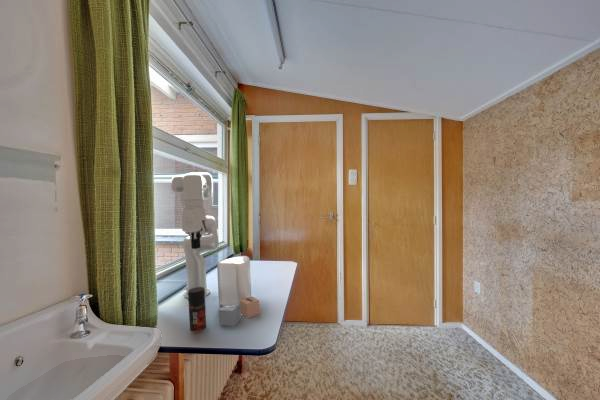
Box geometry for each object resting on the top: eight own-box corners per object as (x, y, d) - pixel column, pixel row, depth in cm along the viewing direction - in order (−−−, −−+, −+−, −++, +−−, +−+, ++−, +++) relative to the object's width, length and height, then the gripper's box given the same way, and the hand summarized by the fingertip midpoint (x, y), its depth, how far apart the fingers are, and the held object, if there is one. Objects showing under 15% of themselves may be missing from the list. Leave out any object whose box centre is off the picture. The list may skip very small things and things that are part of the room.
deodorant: (190, 333, 99) (188, 293, 99) (189, 326, 104) (187, 288, 104) (206, 329, 101) (204, 290, 101) (205, 323, 107) (203, 286, 107)
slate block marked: (219, 325, 105) (218, 309, 105) (226, 318, 111) (226, 303, 111) (233, 325, 104) (232, 310, 104) (240, 318, 110) (239, 303, 109)
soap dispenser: (217, 306, 124) (215, 259, 123) (238, 295, 136) (236, 252, 136) (243, 311, 117) (240, 261, 116) (262, 299, 129) (260, 254, 129)
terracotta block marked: (240, 314, 114) (239, 299, 114) (252, 309, 118) (251, 295, 118) (247, 318, 110) (246, 303, 110) (259, 313, 114) (259, 299, 114)
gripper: (173, 205, 110) (176, 248, 111) (199, 204, 103) (201, 251, 104) (188, 204, 117) (191, 245, 117) (213, 203, 110) (215, 247, 110)
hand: (196, 248), depth 111 cm, fingers closed
